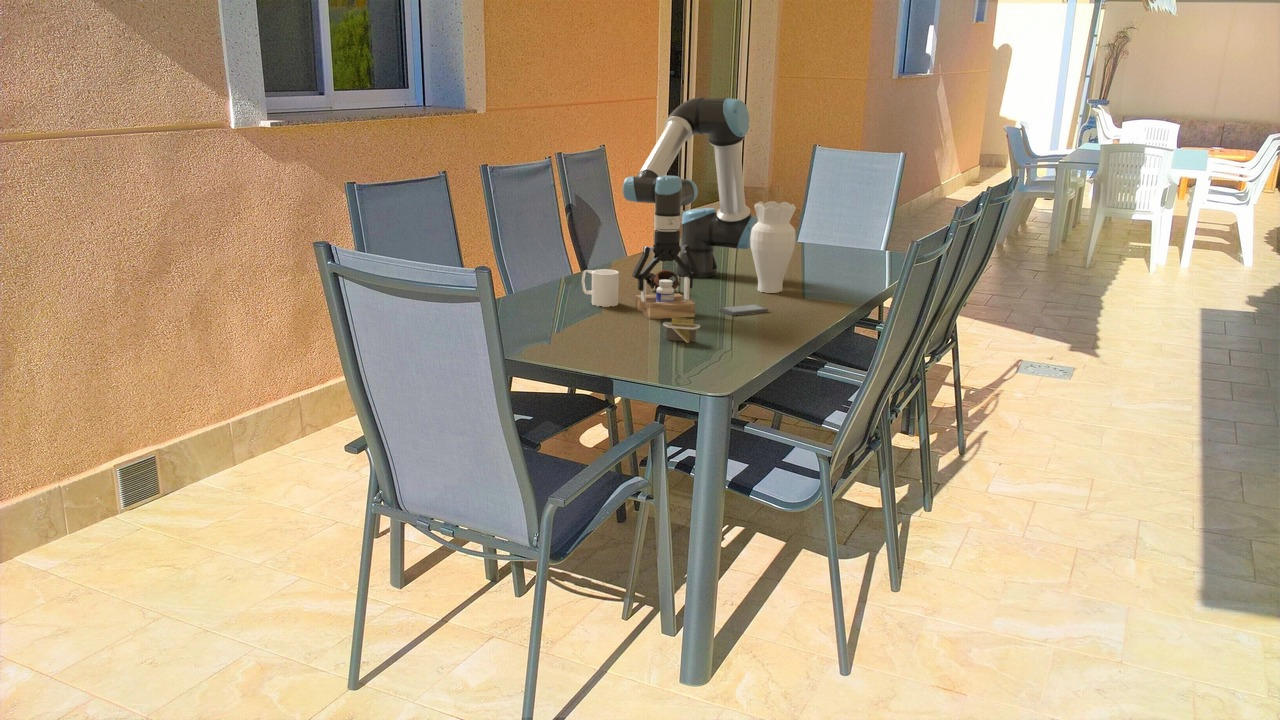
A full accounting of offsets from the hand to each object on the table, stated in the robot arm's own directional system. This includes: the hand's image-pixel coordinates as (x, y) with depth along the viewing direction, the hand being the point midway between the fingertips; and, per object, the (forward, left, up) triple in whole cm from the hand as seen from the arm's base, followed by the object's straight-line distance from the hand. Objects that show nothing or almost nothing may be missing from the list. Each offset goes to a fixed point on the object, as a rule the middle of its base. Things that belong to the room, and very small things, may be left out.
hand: (665, 300), depth 302 cm
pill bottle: (0, 0, -4) cm, 4 cm away
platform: (+32, -6, -4) cm, 33 cm away
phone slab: (+4, +24, -4) cm, 25 cm away
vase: (-21, +44, -4) cm, 49 cm away
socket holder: (0, 0, -4) cm, 4 cm away
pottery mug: (-28, +8, -4) cm, 29 cm away
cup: (-16, -16, -4) cm, 23 cm away
